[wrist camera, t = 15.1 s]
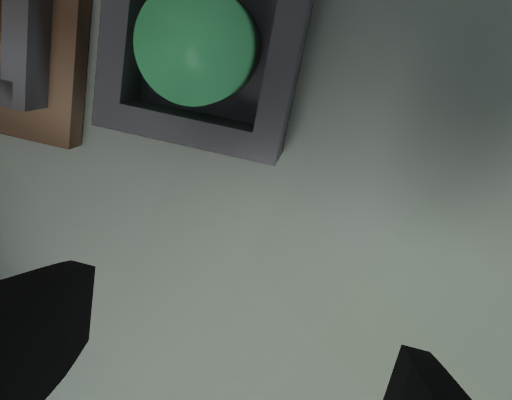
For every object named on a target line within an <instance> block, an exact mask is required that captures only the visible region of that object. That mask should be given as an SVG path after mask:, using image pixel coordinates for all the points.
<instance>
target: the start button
mask: <svg viewBox="0 0 512 400" xmlns="http://www.w3.org/2000/svg"><path fill="white" fill-rule="evenodd" d="M133 46H134V54H135V58H136V62H137V65H138V67H139V69H140V72H141V74H142V75H143V77H144V79H145V80H146V82H147V83H148V84H149V85H150V87H151V88H152V89H153V90H154V91H155V92H157V93H158V94H159V95H160V96H162V97H163V98H165V99H167V100H168V101H171V102H173V103H175V104H179V105H183V106H189V107H198V106H205V105H208V104H212V103H215V102H218V101H221V100H224V99H226V98H229V97H231V96H233V95H234V94H236V93H238V92H239V91H240V90H241V89H243V88H244V87H245V86H246V84H247V83H248V82H249V81H250V79H251V78H252V76H253V74H254V72H255V70H256V68H257V65H258V61H259V57H260V37H259V32H258V28H257V26H256V23H255V21H254V19H253V17H252V15H251V14H250V12H249V11H248V9H247V8H246V7H245V6H244V5H243V4H242V3H241V2H240V1H238V0H147V1H146V2H145V3H144V5H143V7H142V9H141V10H140V12H139V15H138V17H137V20H136V23H135V28H134V34H133Z"/></svg>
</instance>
